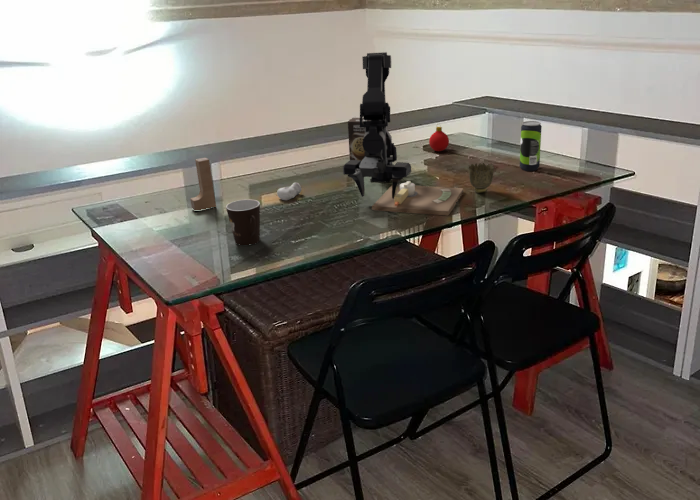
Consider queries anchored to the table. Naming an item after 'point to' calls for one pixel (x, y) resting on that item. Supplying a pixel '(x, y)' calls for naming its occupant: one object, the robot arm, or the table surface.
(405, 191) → the tuner pointer lever
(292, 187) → the pale two-lobed sculpture
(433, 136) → the christmas ornament
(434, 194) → the tuner board
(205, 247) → the table surface
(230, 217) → the coffee mug
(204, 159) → the wooden block
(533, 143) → the beverage can
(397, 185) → the robot arm
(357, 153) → the coffee box
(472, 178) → the cup
